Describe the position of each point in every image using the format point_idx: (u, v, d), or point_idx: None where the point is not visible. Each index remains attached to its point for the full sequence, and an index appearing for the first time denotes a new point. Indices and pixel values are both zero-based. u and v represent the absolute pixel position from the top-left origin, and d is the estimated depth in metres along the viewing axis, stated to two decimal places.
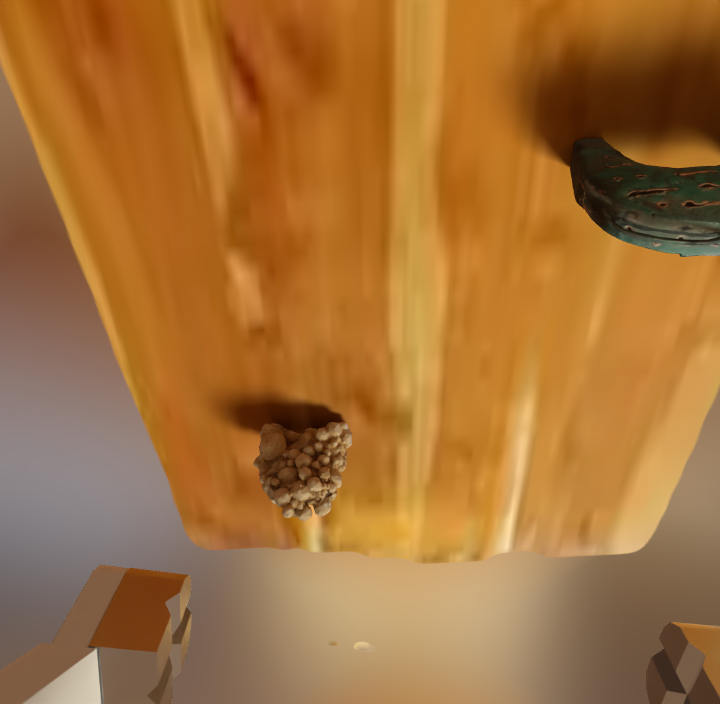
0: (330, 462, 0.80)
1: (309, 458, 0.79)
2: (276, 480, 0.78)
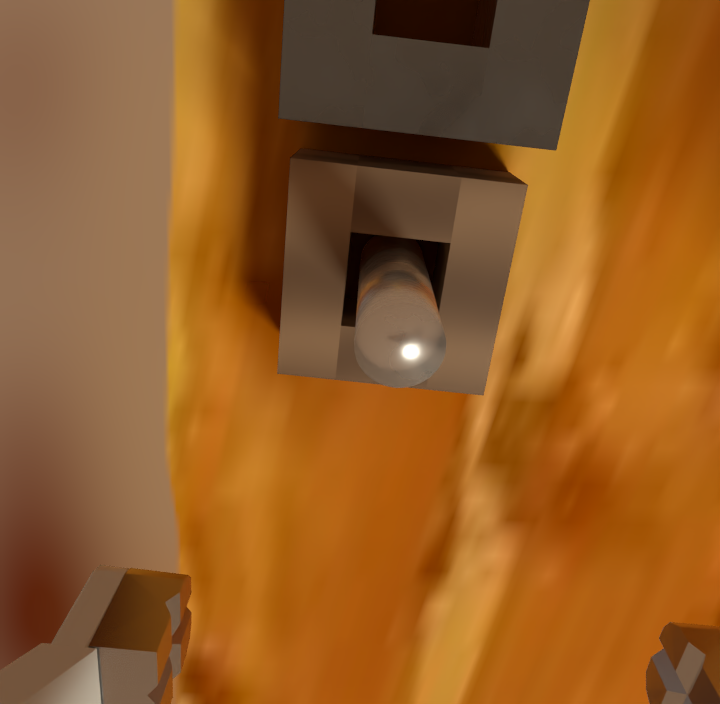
0: None
1: None
2: None
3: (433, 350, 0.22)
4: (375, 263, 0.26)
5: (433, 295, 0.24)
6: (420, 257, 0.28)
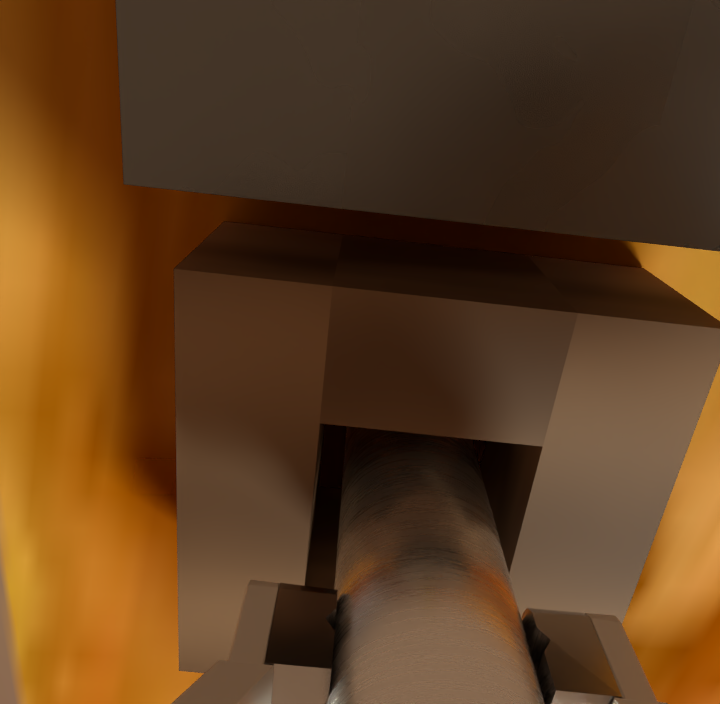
0: None
1: None
2: None
3: None
4: (375, 508, 0.11)
5: (526, 642, 0.09)
6: (470, 458, 0.13)
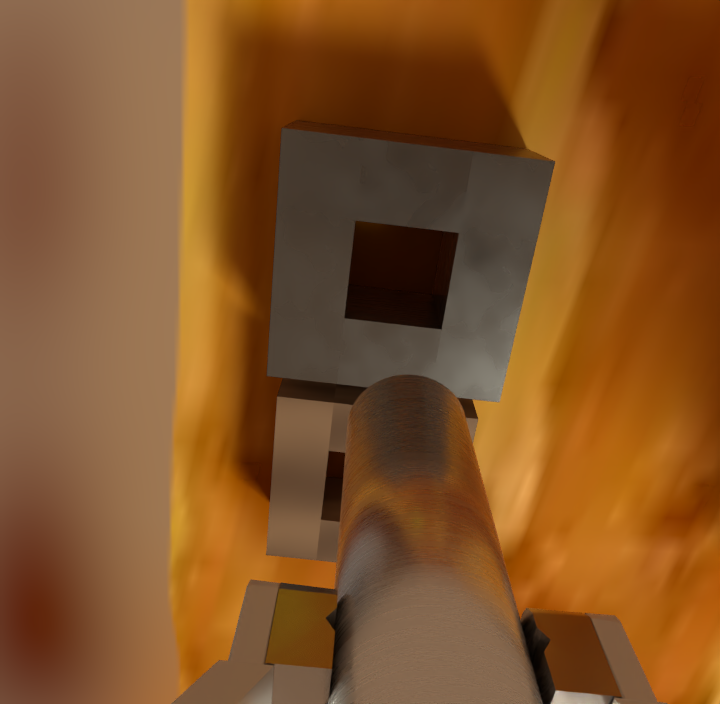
0: None
1: None
2: None
3: None
4: (375, 507, 0.12)
5: (523, 640, 0.10)
6: (469, 458, 0.14)
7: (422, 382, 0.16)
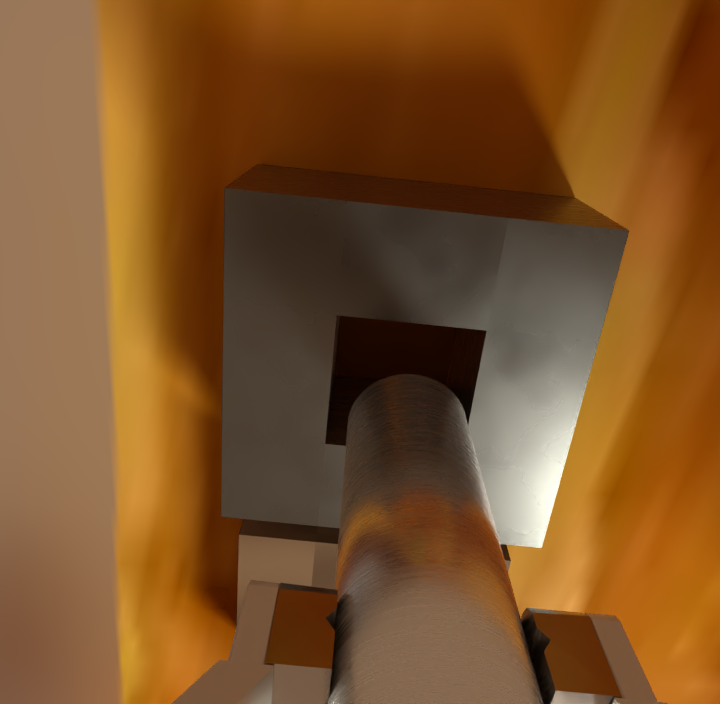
0: None
1: None
2: None
3: None
4: (375, 506, 0.12)
5: (524, 639, 0.10)
6: (470, 458, 0.14)
7: (422, 381, 0.16)
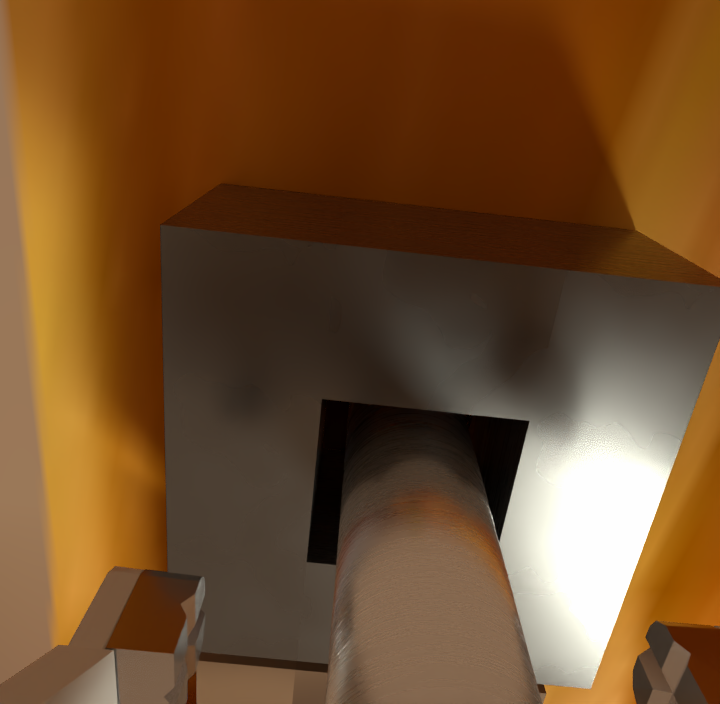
0: None
1: None
2: None
3: None
4: (375, 452, 0.13)
5: (500, 554, 0.11)
6: (458, 415, 0.15)
7: None
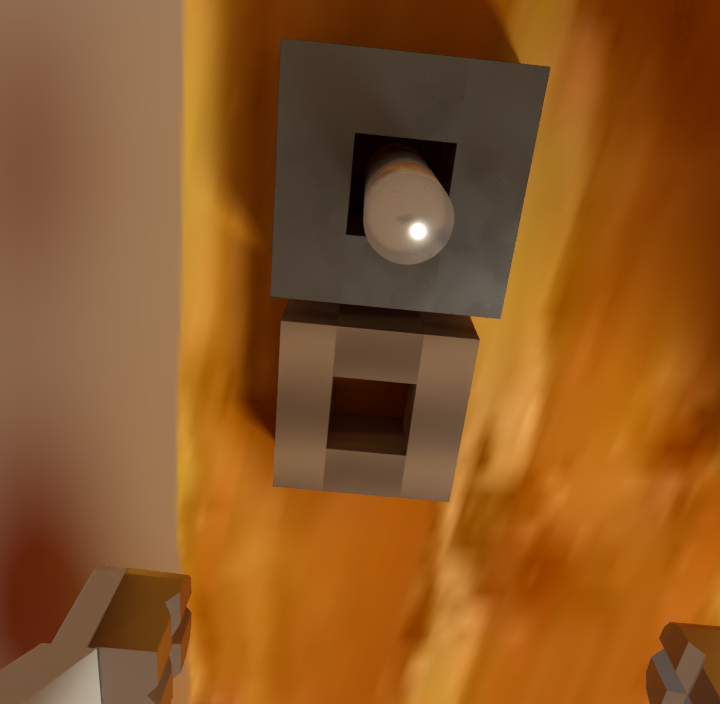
0: None
1: None
2: None
3: (441, 224, 0.22)
4: (381, 161, 0.27)
5: None
6: None
7: (403, 145, 0.31)
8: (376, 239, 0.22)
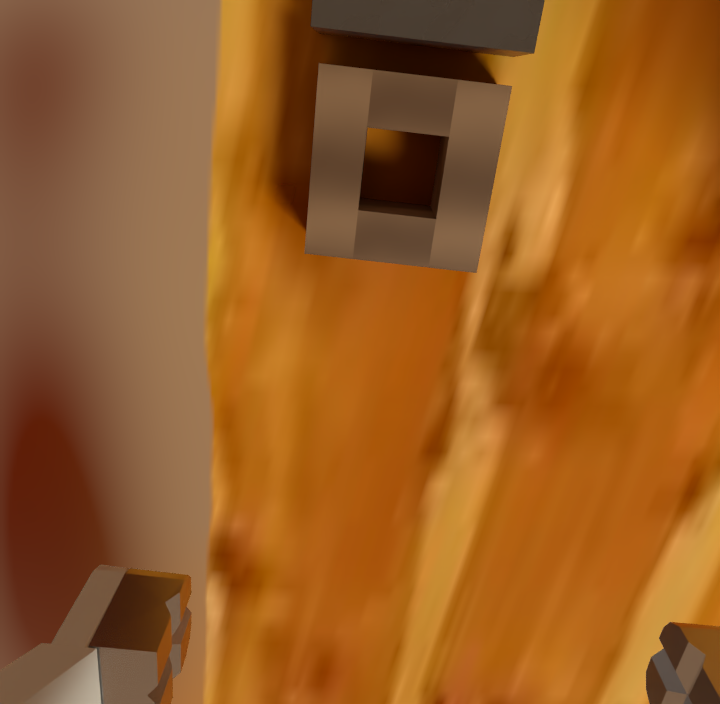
0: None
1: None
2: None
3: None
4: None
5: None
6: None
7: None
8: None
